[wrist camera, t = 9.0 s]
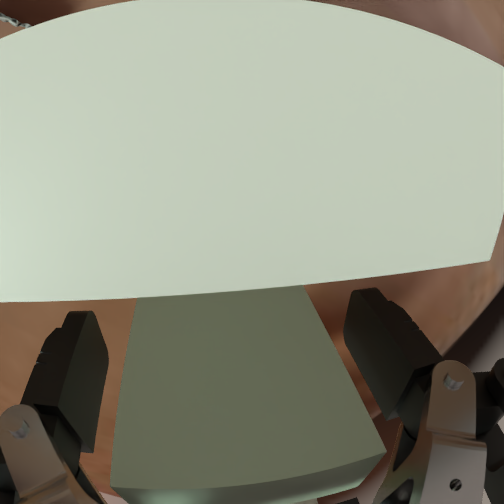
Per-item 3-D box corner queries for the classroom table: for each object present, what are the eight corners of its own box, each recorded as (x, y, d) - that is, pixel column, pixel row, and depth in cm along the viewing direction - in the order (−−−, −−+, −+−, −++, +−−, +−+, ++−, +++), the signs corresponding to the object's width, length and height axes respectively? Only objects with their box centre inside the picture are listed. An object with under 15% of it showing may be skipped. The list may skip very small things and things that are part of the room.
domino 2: (152, 237, 13) (110, 486, 4) (272, 230, 13) (386, 451, 5) (158, 278, 13) (140, 513, 5) (270, 271, 14) (357, 486, 6)
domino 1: (141, 86, 10) (-65, 72, 1) (277, 81, 10) (520, 76, 2) (143, 138, 11) (-18, 302, 2) (276, 132, 11) (489, 260, 3)
